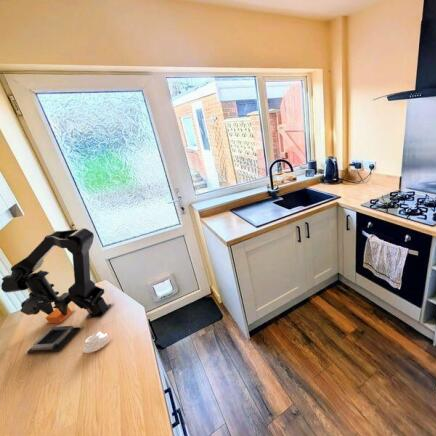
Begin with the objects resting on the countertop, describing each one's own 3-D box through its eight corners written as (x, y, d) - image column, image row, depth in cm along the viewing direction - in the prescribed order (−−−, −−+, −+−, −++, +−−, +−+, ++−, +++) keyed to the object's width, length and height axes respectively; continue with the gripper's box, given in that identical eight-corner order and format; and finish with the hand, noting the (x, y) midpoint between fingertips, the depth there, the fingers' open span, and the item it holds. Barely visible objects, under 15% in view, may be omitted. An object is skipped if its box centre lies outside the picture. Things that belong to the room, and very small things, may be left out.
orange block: (72, 312, 107) (68, 307, 106) (61, 322, 102) (57, 317, 101) (60, 313, 108) (56, 307, 106) (49, 323, 103) (45, 317, 102)
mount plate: (80, 329, 98) (77, 324, 97) (59, 351, 89) (55, 347, 88) (52, 330, 99) (49, 326, 98) (28, 353, 90) (24, 349, 88)
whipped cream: (88, 359, 86) (81, 351, 83) (81, 349, 89) (74, 341, 87) (113, 341, 91) (107, 333, 89) (105, 332, 95) (99, 324, 92)
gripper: (-4, 303, 91) (19, 332, 98) (42, 299, 90) (63, 329, 97) (25, 283, 101) (45, 311, 108) (68, 280, 100) (85, 308, 107)
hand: (59, 315), depth 105 cm, fingers closed on orange block, 5 cm apart
